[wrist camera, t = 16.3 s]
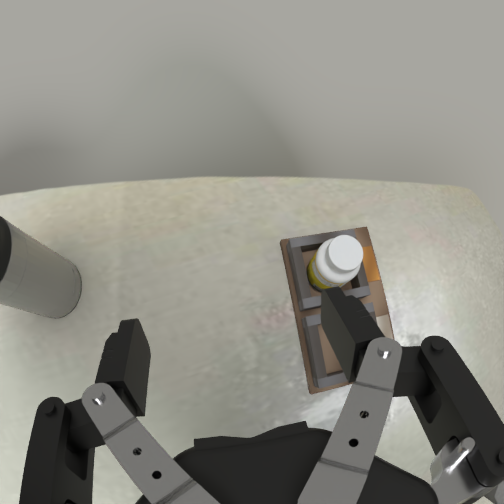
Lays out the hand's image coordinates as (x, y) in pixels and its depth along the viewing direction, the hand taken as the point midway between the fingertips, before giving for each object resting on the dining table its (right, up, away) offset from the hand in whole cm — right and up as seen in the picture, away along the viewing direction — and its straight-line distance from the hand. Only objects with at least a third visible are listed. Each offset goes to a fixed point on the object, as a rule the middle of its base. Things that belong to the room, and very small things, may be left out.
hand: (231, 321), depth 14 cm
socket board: (+13, -5, +29) cm, 32 cm away
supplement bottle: (+11, 0, +29) cm, 31 cm away
